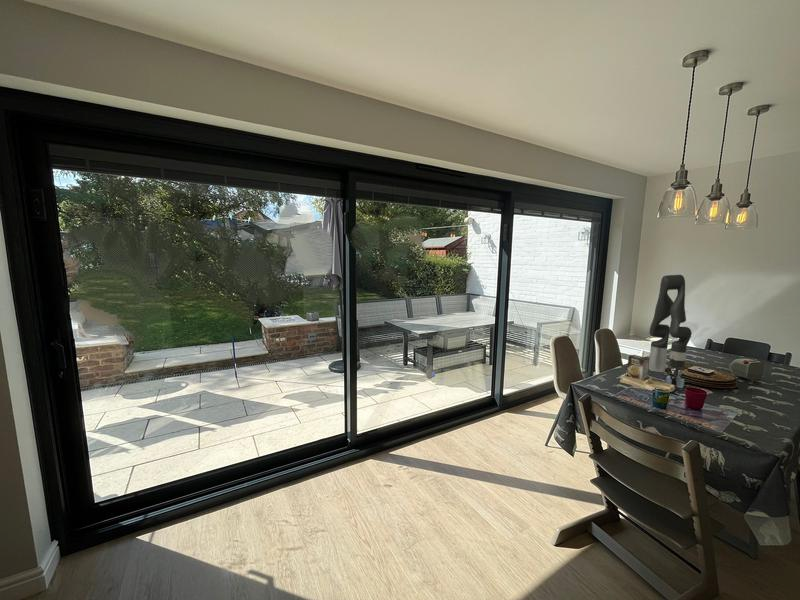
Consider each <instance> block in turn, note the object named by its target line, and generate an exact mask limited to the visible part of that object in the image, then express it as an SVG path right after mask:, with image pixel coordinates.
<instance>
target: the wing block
mask: <svg viewBox="0 0 800 600" xmlns="http://www.w3.org/2000/svg"><path fill="white" fill-rule="evenodd" d="M673 378H674V377H673ZM665 379H666V380H665V383H668V384H671V382H672V380H671V379H670V375H667V376H666V378H665ZM684 387H685V378H681V377H680V378H678V377H677V381H676V386H675V388H680V389H683V388H684Z"/></svg>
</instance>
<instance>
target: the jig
mask: <svg viewBox="0 0 800 600" xmlns="http://www.w3.org/2000/svg"><path fill="white" fill-rule="evenodd" d="M619 383H622V384H627V385H630V386H634V387H638V388H641V389H646V390H649V391H652V390H653V389H655V388H656V389H663V390H668V391H670V392H671V393H672V392H674V391H675V390H676V387H675V385H672V384H668V383H666V382H662V381H659V380H655V379H654V378H652V377H650V376H649V377H648V376H647V380H645V381H643V380H639V379H635V378H631V377H627V372H626V373H624V374H621V375H620V380H619Z"/></svg>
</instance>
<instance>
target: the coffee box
mask: <svg viewBox="0 0 800 600" xmlns="http://www.w3.org/2000/svg"><path fill="white" fill-rule="evenodd" d="M649 360H650V357H644V356H641V355H637V354H631V355H628V359H627V369H626V371H627V372H626V373H627V377H631V378H635V379H639V380H643V381H645V380H647V377H648V372H649Z"/></svg>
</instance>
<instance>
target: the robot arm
mask: <svg viewBox="0 0 800 600" xmlns="http://www.w3.org/2000/svg"><path fill="white" fill-rule="evenodd" d="M670 290H676V291H677V294H676V297H675V299H674V300H673V299H672V298H671V297H670V296H669V294H668V292H669V291H670ZM685 297H686V281H685V277H684V275H682V274H671V275H668V274H667V275H663V276H662V278H661V281H660V285H659V293H658V299H657V302H656V306H655V310H654V315H653V319H652V322H651V325H650V326H649V331H648V333H649V335H650V337H653V338H660V339H657V340H653V341H651V342H650V352H649V364H648V371H652V372H657V373H665V372H666V364H667V354H668V345H669V338H670V337H672V338H673V339H677V340H674V341H672V343H671V347H670V352H669V353H670V354H669V361H668V362H669V363H668V364H669V366H671V367H672V368H671V370H670V373H669V376H670V379H671V380H672V382H671V384H672V385H675V386H676V381H677V377H678V378H681V376H682V371H683V368H685V367H686V358H687V346H688V344H689V342H690V339H691V338H692V334H693V333H692V329H691V328H690V327H688V326H681V324H683V323H685V322H686V321H687V316H686V315H687V314H686V309H685V308H686V307H685V304H686V303H685V301H686V298H685ZM669 317H670V324H661V322H663V321H665V320H666V319H667V318H669ZM673 377H674V378H673Z"/></svg>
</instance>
